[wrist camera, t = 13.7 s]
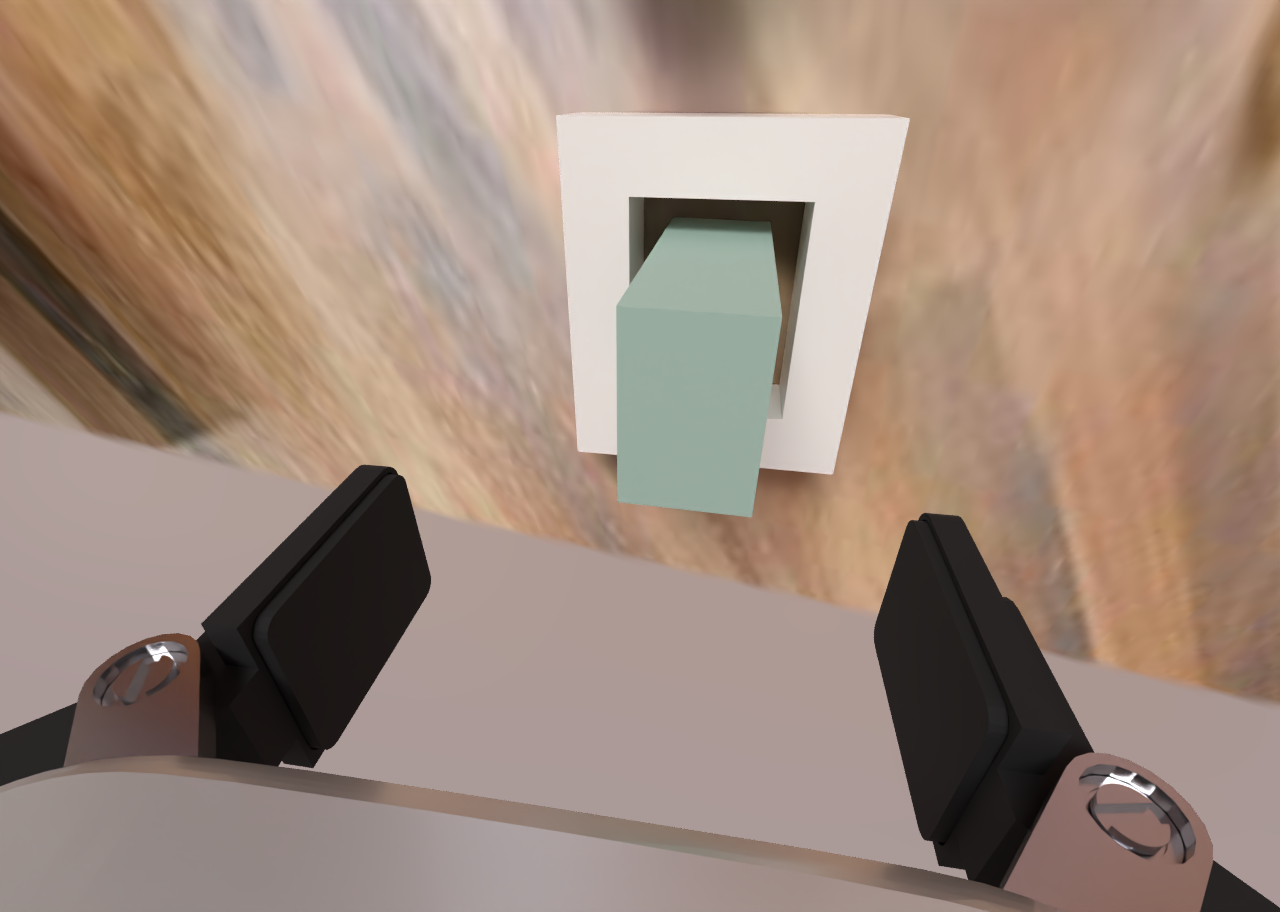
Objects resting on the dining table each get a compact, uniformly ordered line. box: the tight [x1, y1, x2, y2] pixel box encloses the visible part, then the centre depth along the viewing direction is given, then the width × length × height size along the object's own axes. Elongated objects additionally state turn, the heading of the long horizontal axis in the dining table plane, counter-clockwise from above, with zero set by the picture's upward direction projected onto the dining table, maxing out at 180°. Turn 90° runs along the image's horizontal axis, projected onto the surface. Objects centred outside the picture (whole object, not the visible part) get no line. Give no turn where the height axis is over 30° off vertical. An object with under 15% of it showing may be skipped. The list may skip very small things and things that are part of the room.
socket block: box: [556, 112, 910, 475], centre depth 24 cm, size 12×14×4 cm
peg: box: [616, 217, 782, 517], centre depth 21 cm, size 4×6×12 cm, turn 179°
